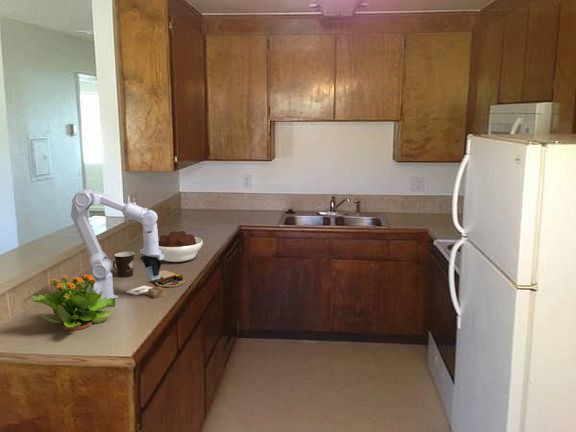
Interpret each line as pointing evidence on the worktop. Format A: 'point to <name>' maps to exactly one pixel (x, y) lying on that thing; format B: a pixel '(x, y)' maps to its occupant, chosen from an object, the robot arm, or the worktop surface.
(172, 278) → the toy sandwich meal
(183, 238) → the bowl of brownies
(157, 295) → the walnut block
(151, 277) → the blue block
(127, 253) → the coffee mug
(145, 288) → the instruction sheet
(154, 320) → the worktop surface
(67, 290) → the potted flower
